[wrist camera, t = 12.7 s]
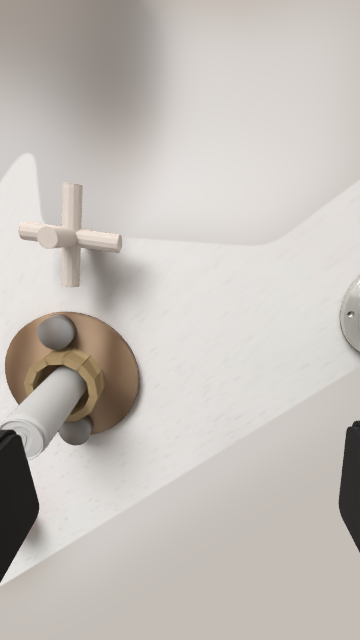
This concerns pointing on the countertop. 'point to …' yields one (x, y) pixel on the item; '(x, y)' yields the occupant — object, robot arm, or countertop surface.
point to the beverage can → (46, 409)
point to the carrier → (83, 356)
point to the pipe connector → (70, 235)
